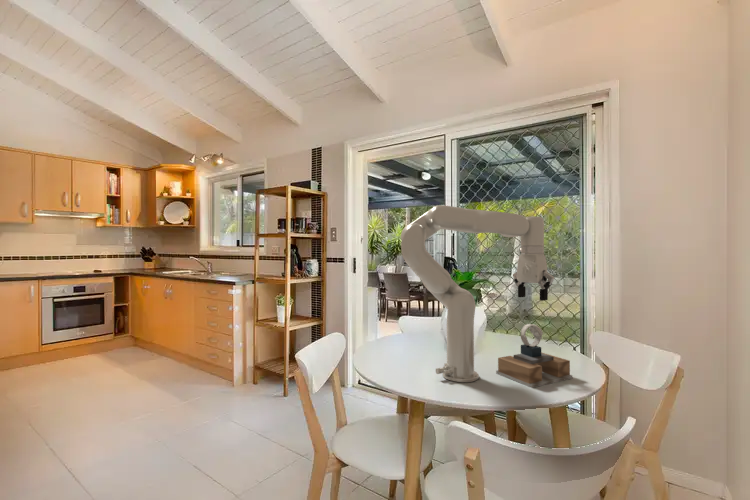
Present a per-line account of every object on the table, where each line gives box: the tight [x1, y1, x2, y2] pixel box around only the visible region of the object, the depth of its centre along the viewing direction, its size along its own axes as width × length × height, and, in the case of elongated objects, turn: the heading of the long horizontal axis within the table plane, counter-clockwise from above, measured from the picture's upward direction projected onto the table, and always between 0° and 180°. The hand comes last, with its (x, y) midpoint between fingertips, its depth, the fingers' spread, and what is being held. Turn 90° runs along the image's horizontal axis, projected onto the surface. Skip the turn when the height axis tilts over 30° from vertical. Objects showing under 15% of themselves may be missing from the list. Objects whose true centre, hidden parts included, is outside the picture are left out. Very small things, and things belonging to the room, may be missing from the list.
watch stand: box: [495, 351, 573, 389], centre depth 133 cm, size 20×16×7 cm
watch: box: [520, 323, 544, 357], centre depth 135 cm, size 6×8×11 cm
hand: (532, 298), depth 133 cm, fingers open, 9 cm apart
